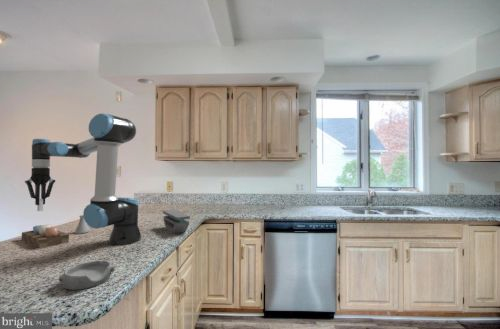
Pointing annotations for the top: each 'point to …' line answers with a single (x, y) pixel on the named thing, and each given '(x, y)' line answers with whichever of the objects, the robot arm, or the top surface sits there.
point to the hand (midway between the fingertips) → (40, 210)
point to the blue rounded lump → (36, 229)
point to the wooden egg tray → (44, 239)
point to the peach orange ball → (51, 232)
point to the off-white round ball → (43, 229)
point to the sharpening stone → (175, 221)
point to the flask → (82, 226)
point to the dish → (86, 275)
